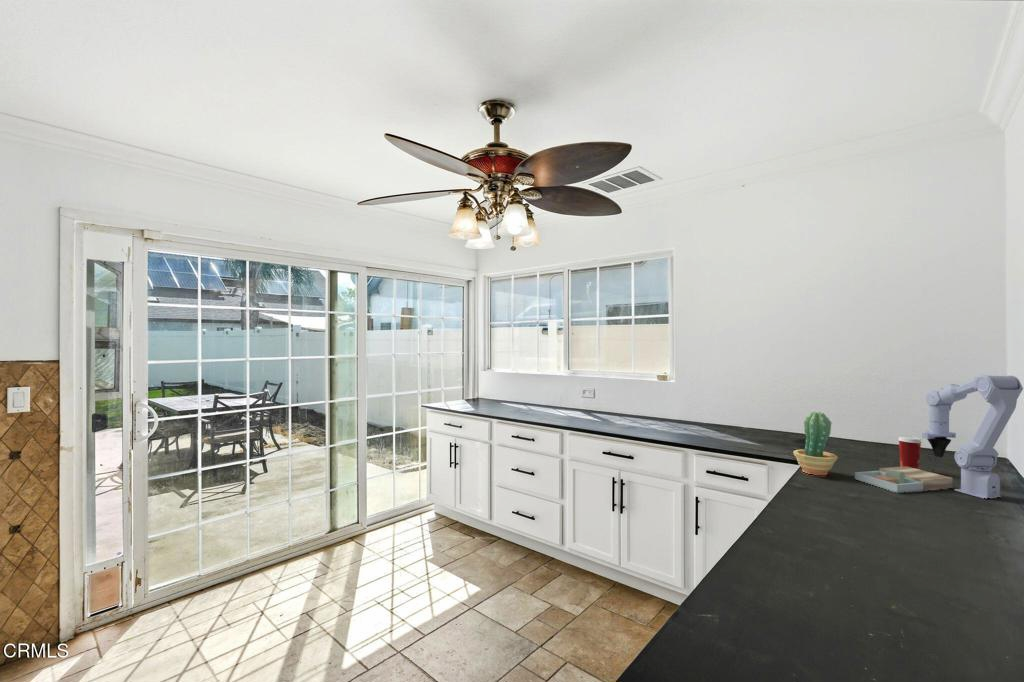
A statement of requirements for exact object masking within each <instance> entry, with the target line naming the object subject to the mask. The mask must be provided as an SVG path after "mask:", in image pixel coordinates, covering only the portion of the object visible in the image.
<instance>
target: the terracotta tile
mask: <svg viewBox="0 0 1024 682" xmlns="http://www.w3.org/2000/svg"><path fill="white" fill-rule="evenodd" d="M873 477H874V478H878V479H881V480H885V481H888V482H891V483H895V484H897V479H895V478H892V477H888V476H885V475H879V476H873Z"/></svg>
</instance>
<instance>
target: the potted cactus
mask: <svg viewBox="0 0 1024 682" xmlns="http://www.w3.org/2000/svg"><path fill="white" fill-rule="evenodd" d="M803 424H804V425H803V426H804V427H803V429H804V433H805V437H806V438H805V447H804V449H796V450H793V452H792V453H793V456H795V457H796V461H797V463H798V465H799V466H800V467H801V469H802V470H801V472H802V471H803V472H805V473H808V474H814V475H827V474H828V473H829V472H830V470H831V469H832V468H833V466H834V465H835V462H836V461H837V460H838V458H839V457H838V456H837V455H836V454H834V453H831V452H828V451H825V447H826V444H827V440H828V438H829V437H830V435H831V431H832V424H833V422H832V421H831V420H830V418H829V417H828V416H826V414H825V413H824V412H823V413H822V412H816V411H811V412H810V413H809V414H808V415H807V416H806V417H805V420H804V421H803ZM803 472H802V473H803ZM805 473H804V474H805ZM808 474H807V475H808ZM828 475H829V474H828Z"/></svg>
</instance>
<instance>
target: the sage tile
mask: <svg viewBox="0 0 1024 682" xmlns="http://www.w3.org/2000/svg"><path fill="white" fill-rule="evenodd" d="M886 476H888V477H892V478H895V479H897V484H904V472H902V471H898V470H895V469H886Z"/></svg>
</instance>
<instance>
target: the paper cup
mask: <svg viewBox="0 0 1024 682" xmlns="http://www.w3.org/2000/svg"><path fill="white" fill-rule="evenodd" d="M897 441H898V446H899V447H898V449H899V463H900V464H899V465H900V466H899V467H906V466H907V467H911V468H915V469H919V468H920V460H921V459H920V457H921V446H922V445H921V444H922V443H923V441H922V440H921V438H920V437H915V436H907V435H901V436H899V437H898V439H897ZM919 470H920V469H919Z"/></svg>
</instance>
